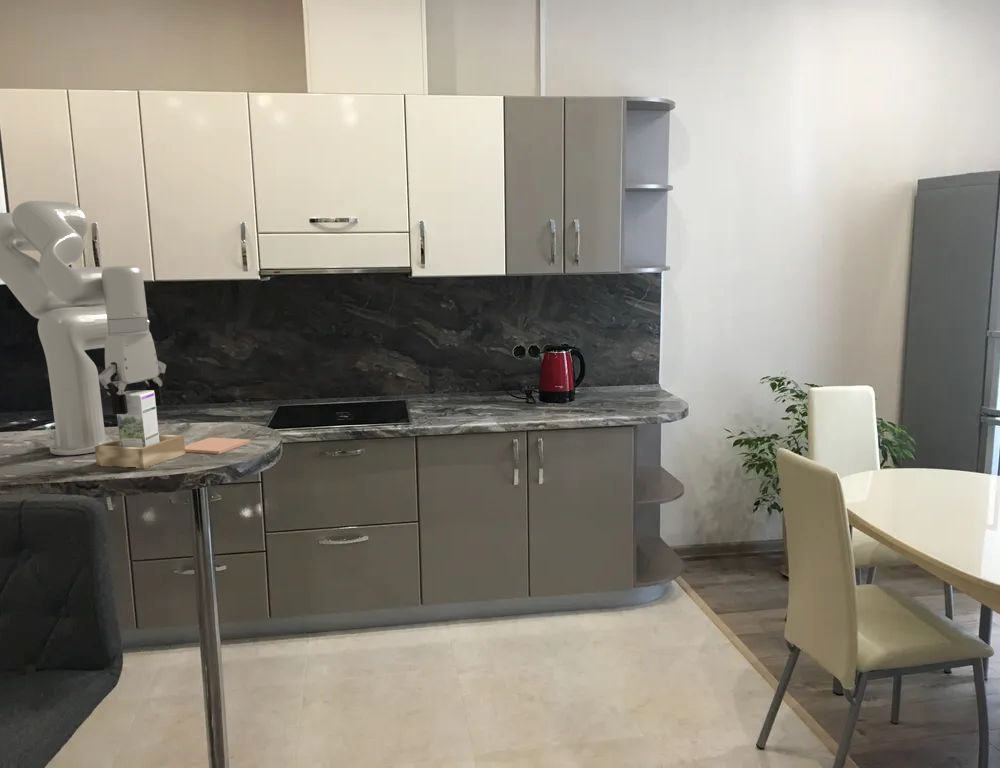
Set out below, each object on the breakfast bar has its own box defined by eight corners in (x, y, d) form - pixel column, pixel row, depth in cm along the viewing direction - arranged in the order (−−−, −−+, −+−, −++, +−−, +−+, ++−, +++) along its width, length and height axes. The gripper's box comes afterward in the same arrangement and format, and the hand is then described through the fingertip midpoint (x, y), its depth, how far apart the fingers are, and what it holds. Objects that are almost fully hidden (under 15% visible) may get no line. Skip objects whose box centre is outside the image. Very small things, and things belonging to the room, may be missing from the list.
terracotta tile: (176, 451, 167) (176, 448, 167) (209, 440, 178) (209, 437, 177) (219, 453, 164) (218, 451, 164) (250, 442, 174) (250, 439, 174)
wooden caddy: (96, 465, 157) (94, 446, 156) (140, 451, 168) (138, 433, 168) (144, 468, 153) (142, 449, 153) (185, 453, 165) (183, 435, 164)
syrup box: (162, 456, 164) (155, 389, 161) (147, 463, 158) (139, 394, 155) (137, 456, 164) (129, 389, 162) (120, 463, 158) (113, 394, 156)
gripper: (145, 324, 166) (154, 402, 168) (79, 331, 149) (90, 417, 152) (173, 323, 163) (182, 402, 166) (110, 330, 147) (121, 417, 150)
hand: (138, 409), depth 159 cm, fingers open, 9 cm apart
